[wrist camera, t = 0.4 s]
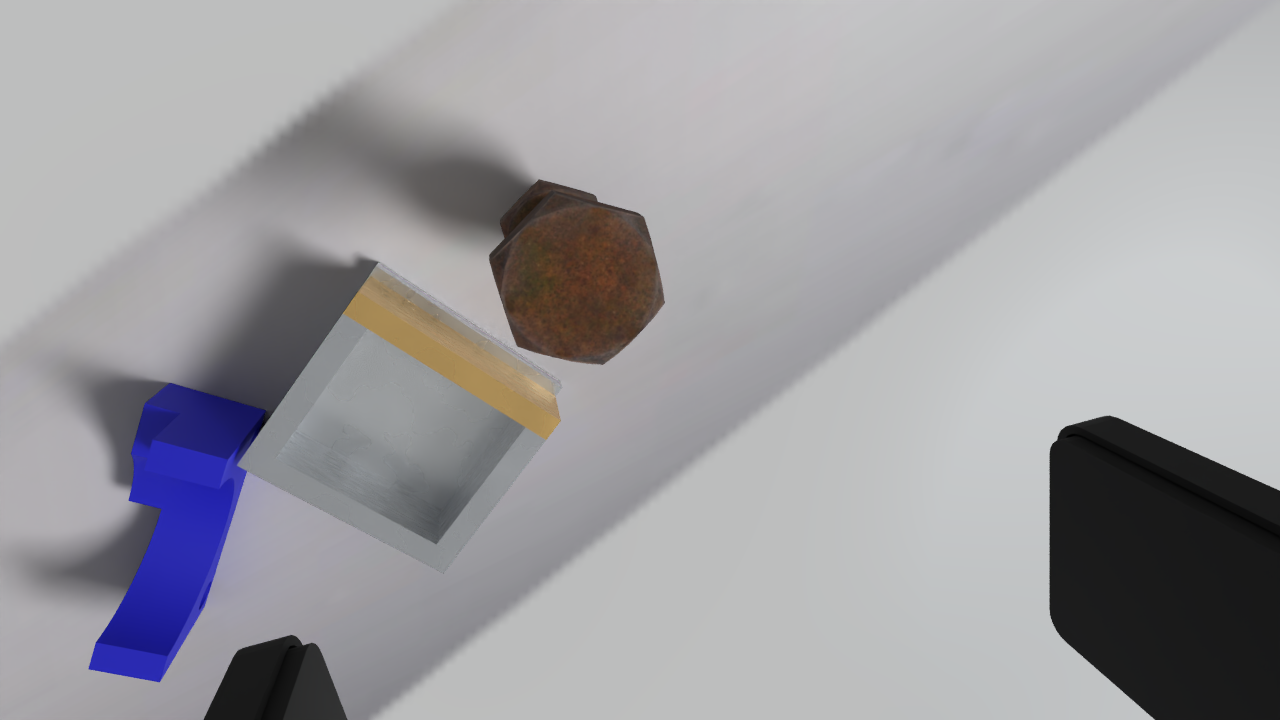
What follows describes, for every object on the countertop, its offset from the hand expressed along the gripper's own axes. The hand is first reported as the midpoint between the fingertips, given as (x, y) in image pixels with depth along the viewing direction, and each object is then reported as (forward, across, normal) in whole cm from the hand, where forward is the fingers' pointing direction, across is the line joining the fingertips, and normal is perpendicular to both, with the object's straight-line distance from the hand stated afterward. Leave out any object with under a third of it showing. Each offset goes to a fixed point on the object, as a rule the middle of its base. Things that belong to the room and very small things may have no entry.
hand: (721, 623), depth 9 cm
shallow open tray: (+31, +8, +7) cm, 33 cm away
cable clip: (+32, +20, +9) cm, 39 cm away
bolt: (+31, -1, -1) cm, 31 cm away
